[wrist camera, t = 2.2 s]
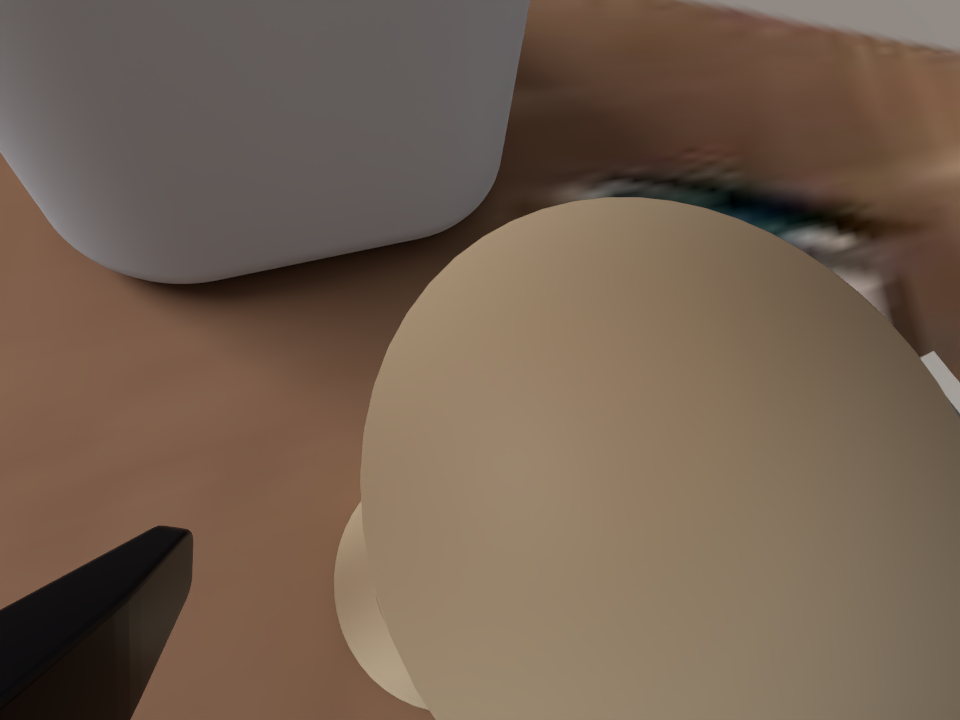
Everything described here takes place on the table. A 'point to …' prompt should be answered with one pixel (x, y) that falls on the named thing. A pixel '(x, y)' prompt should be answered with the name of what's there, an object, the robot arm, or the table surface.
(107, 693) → the robot arm
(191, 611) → the table surface
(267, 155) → the plastic bottle
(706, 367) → the peg
